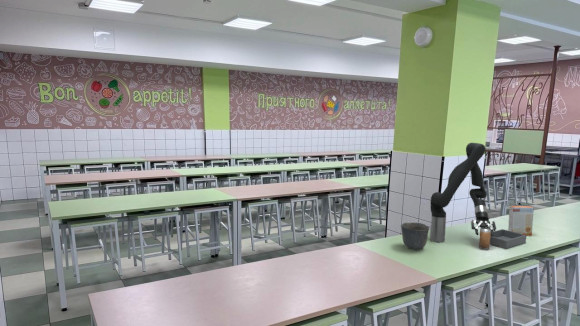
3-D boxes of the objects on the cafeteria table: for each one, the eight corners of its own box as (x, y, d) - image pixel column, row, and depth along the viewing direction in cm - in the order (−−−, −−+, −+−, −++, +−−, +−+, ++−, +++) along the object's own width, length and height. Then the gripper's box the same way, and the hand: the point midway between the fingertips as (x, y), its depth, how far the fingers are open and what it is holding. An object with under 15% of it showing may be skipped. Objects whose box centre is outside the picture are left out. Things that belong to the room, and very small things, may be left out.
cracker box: (527, 233, 262) (529, 205, 259) (532, 236, 256) (534, 207, 253) (507, 232, 263) (509, 205, 261) (511, 235, 257) (513, 207, 255)
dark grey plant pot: (431, 254, 219) (432, 230, 218) (401, 252, 223) (402, 229, 221) (426, 244, 237) (427, 222, 235) (398, 243, 240) (399, 221, 238)
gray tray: (505, 249, 229) (506, 241, 228) (481, 242, 242) (482, 234, 242) (525, 243, 241) (526, 235, 240) (501, 236, 255) (502, 229, 254)
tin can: (480, 249, 228) (481, 230, 227) (477, 246, 234) (479, 227, 232) (490, 250, 227) (492, 230, 225) (488, 247, 232) (489, 228, 231)
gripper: (470, 210, 238) (474, 231, 229) (494, 211, 235) (498, 233, 225) (468, 215, 244) (471, 237, 234) (491, 217, 240) (495, 239, 231)
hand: (485, 235), depth 230 cm, fingers open, 8 cm apart
